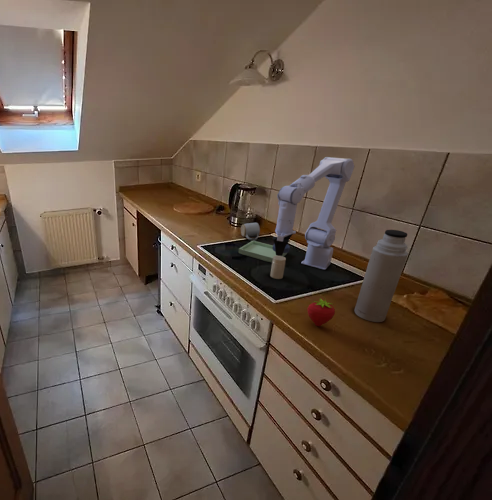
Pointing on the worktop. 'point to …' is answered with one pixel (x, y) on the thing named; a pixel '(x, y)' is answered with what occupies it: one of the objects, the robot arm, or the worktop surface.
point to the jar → (278, 267)
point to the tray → (259, 251)
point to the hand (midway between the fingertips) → (280, 252)
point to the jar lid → (284, 249)
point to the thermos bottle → (382, 276)
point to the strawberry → (320, 312)
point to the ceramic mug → (250, 230)
